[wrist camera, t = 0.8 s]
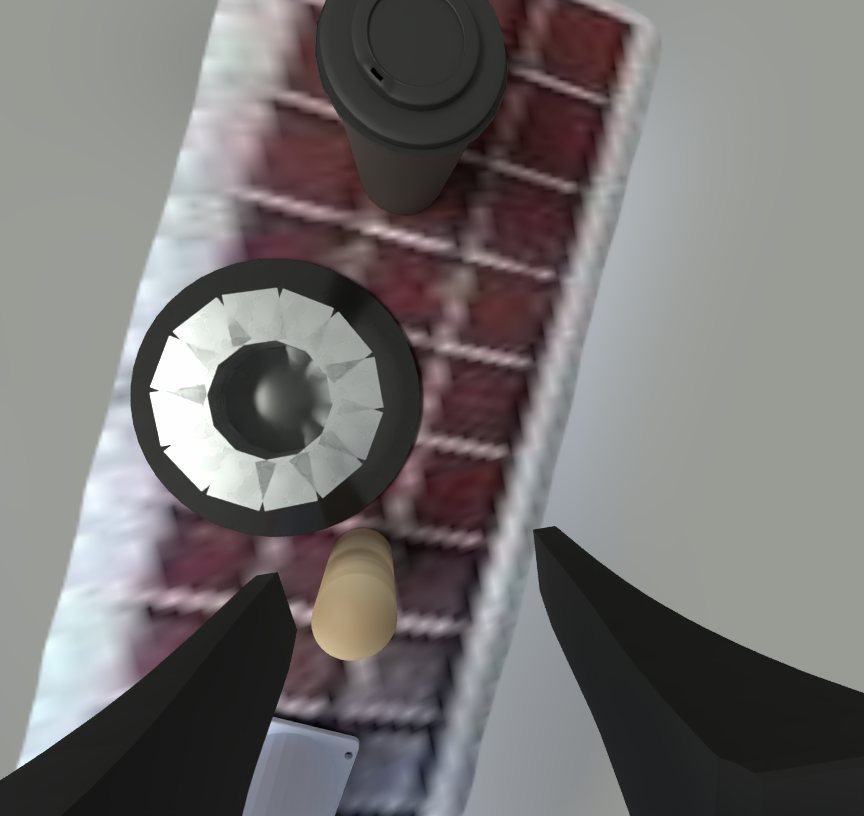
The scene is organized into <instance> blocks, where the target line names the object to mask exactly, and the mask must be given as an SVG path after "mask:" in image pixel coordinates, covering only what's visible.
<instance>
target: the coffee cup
mask: <svg viewBox="0 0 864 816" xmlns="http://www.w3.org/2000/svg"><path fill="white" fill-rule="evenodd" d="M314 57H315V61H316V65H317V69H318V73H319V77H320V80H321V84H322V88H323V90H324V92H325V93H326V95H327V97H328V98H329V100H330V102H331V103H332V105H333V107H334V108H335V110H336V112H337V113H338V115H339V117H340V118H341V119H342V120H343V123H344V126H345V129H346V133H347V136H348V140H349V143H350V146H351V150H352V153H353V156H354V160H355V163H356V166H357V170H358V173H359V176H360V180H361V183H362V186H363V188H364V190H365V192H366V193H367V195H368V196H369V198H370V199H371V200H372V201H373V202H374V203H375V204H376V205H377V206H379V207H380V208H381V209H383V210H386V211H388V212H390V213H392V214H398V215H411V214H416V213H419V212H421V211H423V210H424V209H426V208H428V207H430V205H431V204H432V203H433V202H434V201H435V200H436V198H437V197H438V196H439V194H440V192H441V191H442V189H443V187H444V185H445V184H446V182H447V180H448V178H449V177H450V175H451V173H452V171H453V170H454V168H455V166H456V164H457V163H458V161H459V159H460V157H461V156H462V154H463V152H464V150H465V149H466V147H467V145H468V143H470V142H472V141H474V140H475V139H477V138H478V137H479V135H480V134H481V133H482V132H483V131H484V130H485V128H486V127H487V126H488V125H489V124H490V123H491V121H492V120H493V119H494V118H495V116H496V114H497V111H498V109H499V106H500V104H501V101H502V99H503V96H504V94H505V91H506V84H507V70H508V56H507V52H506V47H505V43H504V38H503V34H502V29H501V27H500V24H499V20H498V18H497V16H496V14H495V12H494V9H493V7H492V6H491V4H490V2H489V1H488V0H326V2H325V4H324V6H323V9H322V11H321V14H320V16H319V19H318V21H317V24H316V37H315V54H314Z"/></svg>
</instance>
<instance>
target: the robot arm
mask: <svg viewBox="0 0 864 816" xmlns="http://www.w3.org/2000/svg"><path fill="white" fill-rule="evenodd" d="M533 533H534V542H535V551H536V560H537V569H538V578H539V587H540V592H541V596H542V599H543V602H544V605H545V608H546V611H547V613H548V616H549V620H550V623H551V625H552V628H553V630H554V632H555V635H556V637H557V639H558V641H559V643H560V645H561V648H562V650H563V652H564V654H565V656H566V658H567V661H568V662H569V665H570V667H571V669H572V671H573V674H574V676H575V678H576V680H577V682H578V684H579V687H580V689H581V691H582V693H583V695H584V697H585V699H586V701H587V704H588V706H589V708H590V710H591V713H592V715H593V717H594V720H595V722H596V724H597V727H598V729H599V732H600V734H601V737H602V739H603V742H604V745H605V747H606V750H607V753H608V756H609V758H610V761H611V764H612V767H613V769H614V772H615V775H616V778H617V780H618V783H619V786H620V789H621V792H622V794H623V797H624V800H625V803H626V805H627V808H628V811H629V814H630V816H864V693H862V692H859V691H857V690H853V689H851V688H848V687H845V686H842V685H840V684H837V683H834V682H831V681H828V680H825V679H823V678H819V677H817V676H814V675H811V674H809V673H806V672H804V671H801V670H798V669H796V668H794V667H791V666H789V665H786V664H784V663H781V662H779V661H777V660H774V659H772V658H769V657H767V656H764V655H762V654H760V653H757V652H755V651H753V650H751V649H748V648H746V647H744V646H741V645H739V644H737V643H735V642H733V641H731V640H729V639H727V638H725V637H723V636H721V635H719V634H717V633H715V632H712V631H710V630H708V629H706V628H704V627H702V626H700V625H698V624H697V623H695V622H693V621H691V620H689V619H687V618H685V617H683V616H682V615H680V614H678V613H676V612H675V611H673V610H671V609H669V608H668V607H666V606H664V605H662V604H661V603H659V602H657V601H656V600H654V599H652V598H651V597H649V596H647V595H646V594H644V593H643V592H641V591H640V590H638V589H637V588H635V587H634V586H632V585H631V584H629V583H628V582H626V581H625V580H623V579H622V578H621V577H619V576H618V575H616V574H615V573H614V572H612V571H611V570H610V569H608V568H607V567H606V566H604V565H603V564H602V563H600V562H599V561H598V560H596V559H595V558H594V557H593V556H591V555H590V554H589V553H587V552H586V551H585V550H584V549H582V548H581V547H580V546H579V545H578V544H576V543H575V542H574V541H573V540H572V539H570V538H569V537H568V536H567V535H566V534H564V533H563V532H562V531H561V530H560V529H558V528H557V527H555V526H553V527H547V528H541V529H535V530H533ZM296 633H297V629H296V626H295V623H294V620H293V617H292V614H291V611H290V608H289V605H288V602H287V599H286V596H285V593H284V590H283V587H282V584H281V581H280V578H279V575H278V572H276V573H270V574H264V575H258V576H255V577H254V578H253V579H252V580H251V581H249V582H248V583H247V584H246V585H245V586H244V587H243V588H242V589H241V590H240V591H238V592H237V593H236V594H235V595H234V596H233V597H232V598H231V599H230V600H229V601H228V602H227V603H226V604H225V605H224V606H223V607H222V608H220V609H219V610H218V611H217V612H216V613H215V614H214V615H213V616H212V617H211V618H210V619H209V620H208V621H207V622H206V623H205V624H203V625H202V626H201V627H200V628H199V629H198V630H197V631H196V632H195V633H194V634H193V635H192V636H191V637H189V638H188V639H187V640H186V641H185V642H184V643H183V644H182V645H180V646H179V647H178V648H177V649H176V650H175V651H174V652H173V653H171V654H170V655H169V656H168V657H167V658H166V659H165V660H163V661H162V662H161V663H160V664H159V665H158V666H157V667H156V668H154V669H153V670H152V671H151V672H150V673H148V674H147V675H146V676H145V677H144V678H142V679H141V680H140V681H139V682H138V683H136V684H135V685H134V686H133V687H131V688H130V689H129V690H128V691H126V692H125V693H124V694H122V695H121V696H120V697H119V698H117V699H116V700H115V701H114V702H112V703H111V704H110V705H108V706H107V707H106V708H104V709H103V710H102V711H100V712H99V713H98V714H96V715H95V716H94V717H92V718H91V719H89V720H88V721H87V722H85V723H84V724H82V725H81V726H80V727H78V728H77V729H75V730H74V731H73V732H71V733H70V734H68V735H67V736H65V737H64V738H63V739H61V740H60V741H58V742H57V743H56V744H54V745H53V746H51V747H50V748H49V749H47V750H46V751H44V752H43V753H41V754H40V755H38V756H37V757H35V758H34V759H32V760H31V761H29V762H28V763H26V764H25V765H23V766H22V767H20V768H19V769H17V770H16V771H14V772H12V773H11V774H9V775H8V776H6V777H5V778H3V779H2V780H0V816H335V813H336V811H337V808H338V805H339V802H340V800H341V797H342V794H343V791H344V789H345V786H346V783H347V780H348V778H349V775H350V772H351V769H352V767H353V764H354V761H355V758H356V756H357V753H358V750H359V740H358V738H357V737H354V736H351V735H346V734H342V733H338V732H334V731H330V730H326V729H321V728H317V727H313V726H309V725H305V724H301V723H297V722H292V721H288V720H284V719H280V718H276V717H273V715H274V712H275V709H276V706H277V704H278V701H279V698H280V695H281V692H282V689H283V686H284V683H285V680H286V676H287V673H288V670H289V666H290V662H291V657H292V653H293V648H294V643H295V638H296ZM347 752H351V754H346V753H347Z"/></svg>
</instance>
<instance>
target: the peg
mask: <svg viewBox="0 0 864 816" xmlns="http://www.w3.org/2000/svg"><path fill="white" fill-rule="evenodd" d="M396 624H397V605H396V592H395V580H394V568H393V555H392V549H391V546H390V544H389V542H388V541H387V539H386V538H385V537H384V536H383V535H382V534H380V533H379V532H377V531H375V530H372V529H368V528H357V529H353V530H350V531H348V532H346V533H344V534H343V535H342V536H341V537H340V538H338V540H337V541H336V542H335V544H334V545H333V547H332V550H331V553H330V556H329V560H328V563H327V566H326V570H325V573H324V576H323V580H322V583H321V586H320V590H319V593H318V596H317V600H316V603H315V606H314V610H313V613H312V631H313V634H314V637H315V639H316V641H317V643H318V644H319V645H320V647H321V648H322V649H323V650H324V651H325V652H327V653H328V654H330V655H331V656H333V657H335V658H338V659H342V660H349V661H354V660H361V659H365V658H368V657H370V656H372V655H374V654H376V653H378V652H379V651H380V650H381V649H383V648H384V647H385V646H386V645H387V643H388V642H389V641H390V639H391V637H392V636H393V634H394V631H395V628H396Z"/></svg>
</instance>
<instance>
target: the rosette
mask: <svg viewBox="0 0 864 816" xmlns="http://www.w3.org/2000/svg"><path fill="white" fill-rule="evenodd" d="M419 404H420V392H419V382H418V375H417V371H416V367H415V363H414V359H413V356H412V354H411V351H410V348H409V346H408V343H407V341H406V339H405V338H404V336H403V334H402V332H401V330H400V328H399V327H398V325H397V324H396V322H395V321H394V320H393V318H392V317H391V315H390V314H389V313H388V312H387V311H386V309H385V308H384V307H383V306H382V305H381V304H380V303H379V302H378V301H377V300H376V299H375V298H374V297H373V296H371V295H370V294H369V293H368V292H367V291H365V290H364V289H363V288H362V287H360V286H359V285H357V284H356V283H354V282H352V281H351V280H349V279H348V278H346V277H344V276H342V275H340V274H338V273H336V272H333V271H331V270H329V269H326V268H323V267H320V266H317V265H314V264H310V263H305V262H300V261H295V260H284V259H263V260H252V261H247V262H242V263H236V264H233V265H230V266H227V267H224V268H221V269H218V270H216V271H214V272H212V273H210V274H208V275H205V276H203V277H201V278H199V279H198V280H196V281H195V282H193V283H192V284H190V285H189V286H187V287H186V288H184V289H183V290H182V291H181V292H180V293H179V294H178V295H176V296H175V297H174V298H173V299H172V300H171V301H170V302H169V303H168V304H167V305H166V306H165V307H164V309H163V310H162V311H161V312H160V313H159V314H158V316H157V317H156V318H155V320H154V322H153V323H152V325H151V326H150V328H149V329H148V331H147V333H146V335H145V337H144V339H143V341H142V344H141V346H140V348H139V351H138V354H137V357H136V361H135V364H134V367H133V374H132V381H131V411H132V418H133V425H134V428H135V432H136V435H137V439H138V442H139V445H140V447H141V449H142V451H143V454H144V456H145V458H146V460H147V462H148V463H149V465H150V467H151V468H152V470H153V471H154V473H155V475H156V476H157V477H158V479H159V480H160V481H161V482H162V483H163V485H164V486H165V487H166V488H167V489H168V491H169V492H170V493H172V494H173V495H174V496H175V497H176V498H177V499H178V500H179V501H180V502H181V503H182V504H184V505H185V506H187V507H188V508H189V509H191V510H192V511H194V512H195V513H196V514H198V515H200V516H201V517H203V518H205V519H207V520H209V521H211V522H213V523H215V524H217V525H220V526H223V527H225V528H228V529H231V530H234V531H238V532H242V533H246V534H251V535H259V536H268V537H281V536H295V535H302V534H308V533H312V532H315V531H319V530H323V529H326V528H328V527H331V526H333V525H336V524H338V523H340V522H343V521H344V520H346V519H348V518H350V517H351V516H353V515H355V514H357V513H358V512H360V511H361V510H362V509H364V508H365V507H366V506H368V505H369V504H370V503H372V502H373V501H374V500H375V499H376V498H377V497H378V496H379V495H380V494H381V493H382V492H383V491H384V490H385V489H386V488H387V486H388V485H389V484H390V483H391V481H392V480H393V479H394V478H395V476H396V475H397V473H398V471H399V470H400V468H401V466H402V465H403V463H404V462H405V459H406V457H407V455H408V453H409V450H410V448H411V446H412V443H413V439H414V436H415V432H416V429H417V423H418V417H419Z"/></svg>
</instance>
